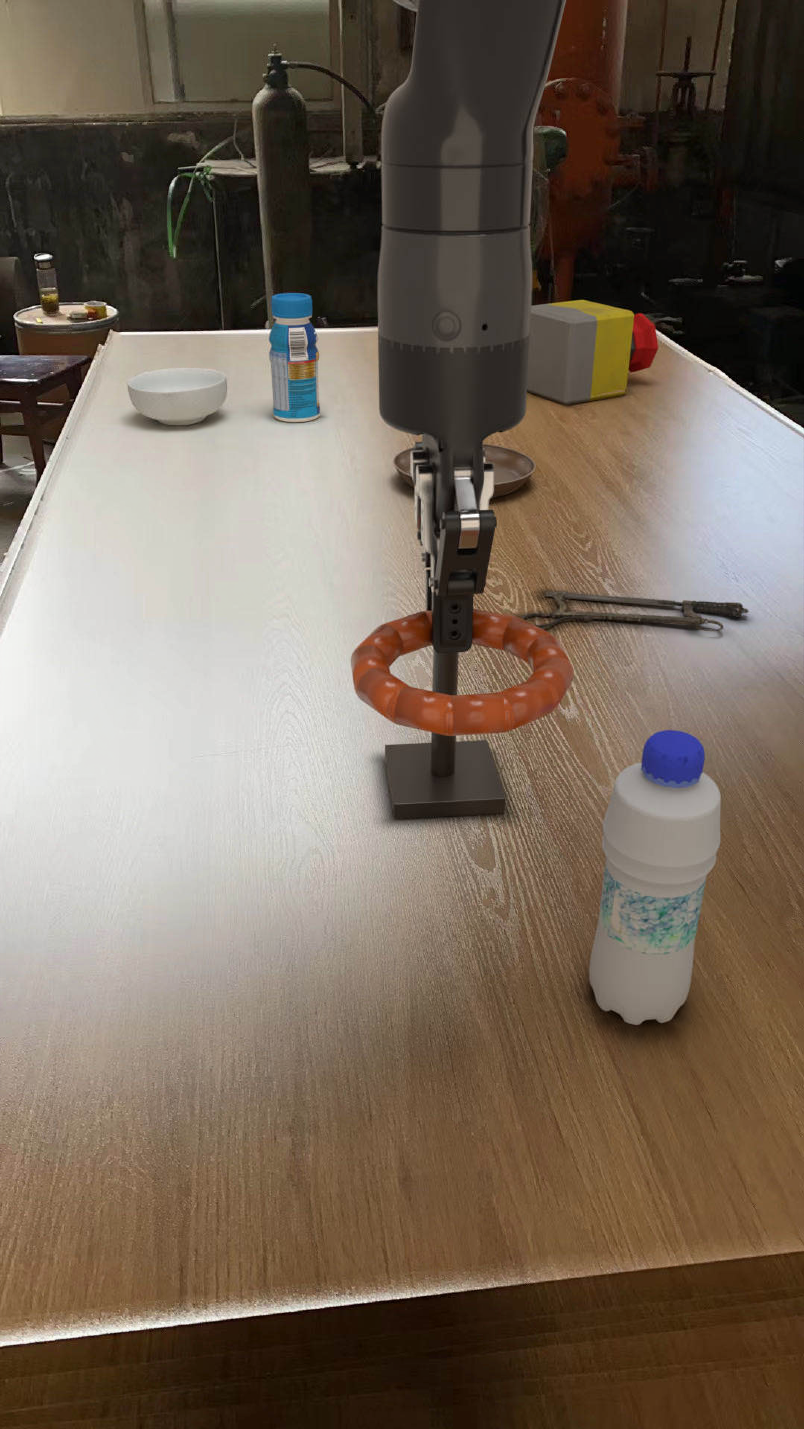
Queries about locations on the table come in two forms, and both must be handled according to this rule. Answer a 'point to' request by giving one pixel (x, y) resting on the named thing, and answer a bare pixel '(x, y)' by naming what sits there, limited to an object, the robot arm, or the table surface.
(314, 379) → the beverage bottle
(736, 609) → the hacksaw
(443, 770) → the stand
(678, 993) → the bottle
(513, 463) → the plant saucer
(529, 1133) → the table surface
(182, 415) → the cereal bowl
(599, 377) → the emergency stop button
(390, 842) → the table surface
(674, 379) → the table surface
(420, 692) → the ring
